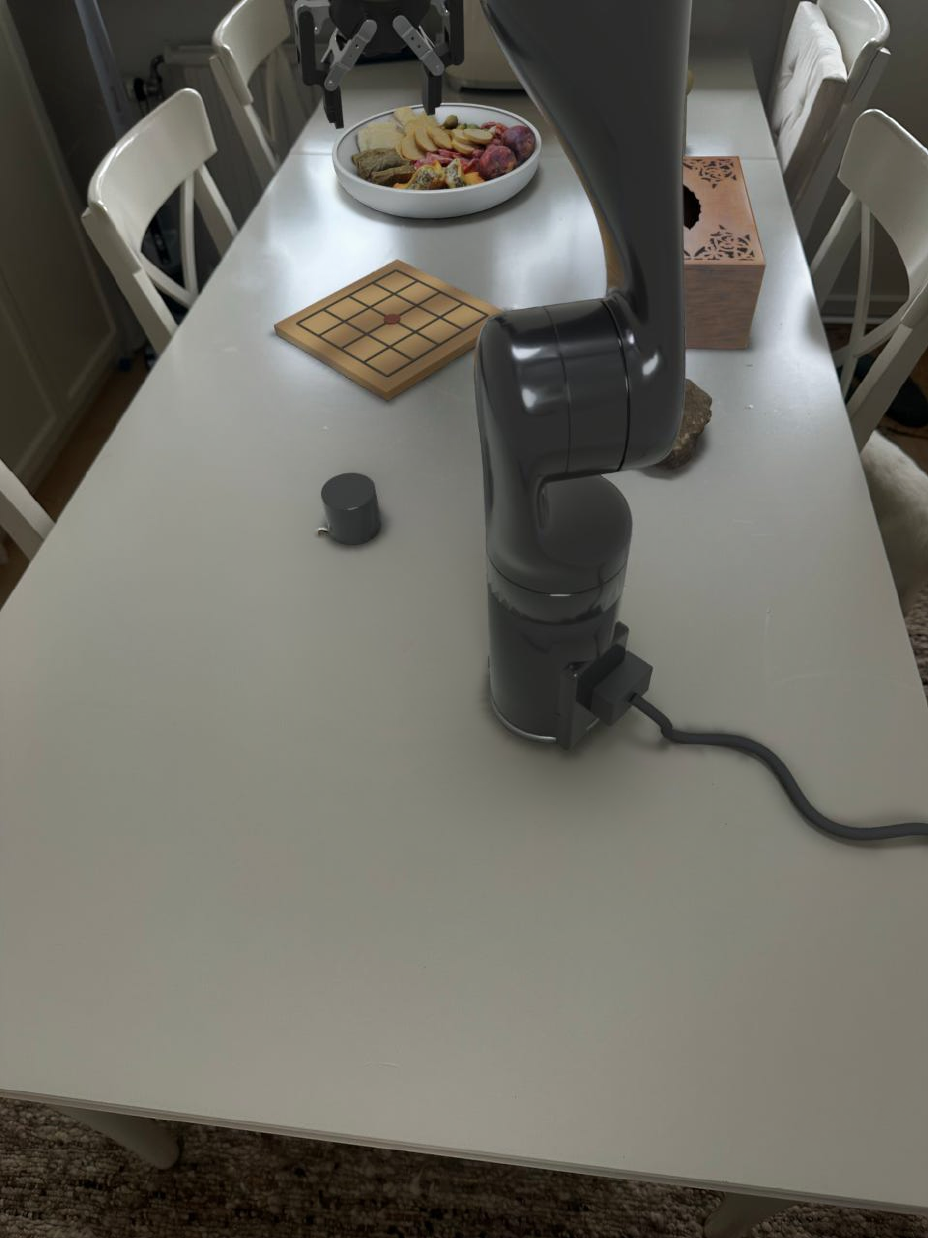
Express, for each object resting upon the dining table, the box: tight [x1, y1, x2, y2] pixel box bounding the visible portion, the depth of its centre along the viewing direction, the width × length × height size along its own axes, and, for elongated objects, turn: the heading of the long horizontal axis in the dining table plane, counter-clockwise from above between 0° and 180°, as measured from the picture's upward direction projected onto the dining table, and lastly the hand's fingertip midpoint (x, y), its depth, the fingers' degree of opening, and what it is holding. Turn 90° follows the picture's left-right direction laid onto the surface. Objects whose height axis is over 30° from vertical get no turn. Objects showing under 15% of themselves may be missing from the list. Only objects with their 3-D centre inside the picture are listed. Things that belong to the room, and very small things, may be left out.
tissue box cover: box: [683, 155, 767, 350], centre depth 102 cm, size 26×14×10 cm, turn 175°
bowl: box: [331, 102, 542, 219], centre depth 124 cm, size 30×30×8 cm
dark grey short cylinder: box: [320, 472, 382, 546], centre depth 80 cm, size 5×5×4 cm
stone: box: [652, 378, 713, 470], centre depth 86 cm, size 10×14×6 cm
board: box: [273, 258, 505, 402], centre depth 102 cm, size 20×20×1 cm
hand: (383, 116), depth 79 cm, fingers open, 8 cm apart
